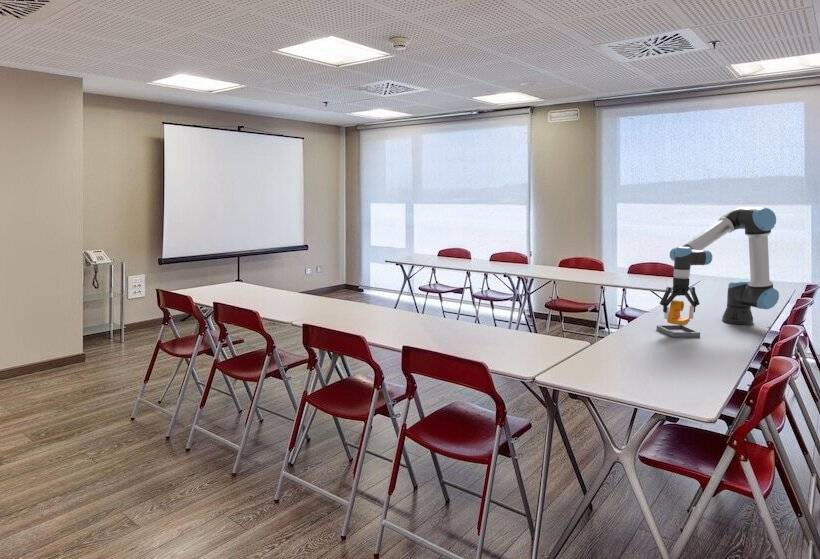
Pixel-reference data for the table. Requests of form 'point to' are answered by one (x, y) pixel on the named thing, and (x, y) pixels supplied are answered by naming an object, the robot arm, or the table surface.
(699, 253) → the robot arm
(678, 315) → the bracket
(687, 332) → the tray
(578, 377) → the table surface
